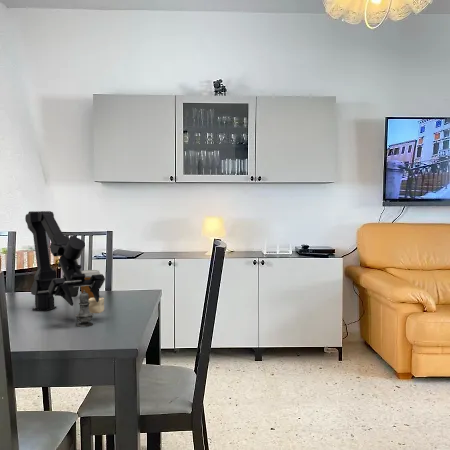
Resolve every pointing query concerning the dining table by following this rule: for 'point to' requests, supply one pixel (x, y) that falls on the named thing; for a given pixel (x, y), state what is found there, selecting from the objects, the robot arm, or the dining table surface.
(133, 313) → the dining table surface
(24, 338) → the dining table surface
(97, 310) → the maple block
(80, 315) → the grey tall rounded piece
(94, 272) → the disposable coffee cup
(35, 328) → the dining table surface
